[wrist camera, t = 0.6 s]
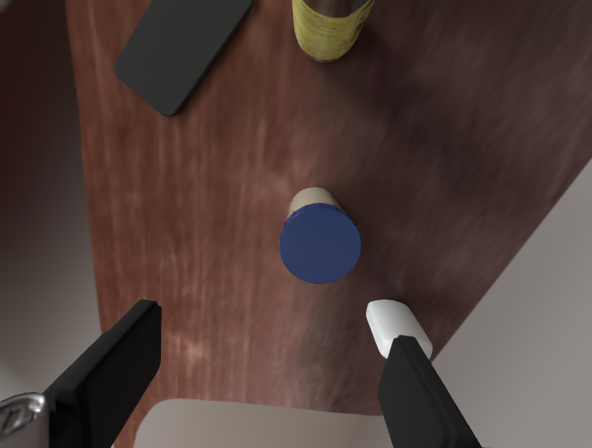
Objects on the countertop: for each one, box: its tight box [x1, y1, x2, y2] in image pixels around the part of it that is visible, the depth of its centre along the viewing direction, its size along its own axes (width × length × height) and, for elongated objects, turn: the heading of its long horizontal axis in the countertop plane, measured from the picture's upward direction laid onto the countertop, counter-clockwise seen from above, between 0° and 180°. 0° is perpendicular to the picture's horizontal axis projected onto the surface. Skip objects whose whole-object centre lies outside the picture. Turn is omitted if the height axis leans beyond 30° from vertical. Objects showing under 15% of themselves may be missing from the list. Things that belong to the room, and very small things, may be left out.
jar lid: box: [280, 202, 361, 284], centre depth 23 cm, size 7×7×2 cm
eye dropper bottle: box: [366, 300, 432, 359], centre depth 31 cm, size 4×6×12 cm
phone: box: [114, 0, 254, 117], centre depth 27 cm, size 7×1×15 cm
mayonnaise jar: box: [287, 188, 342, 219], centre depth 28 cm, size 6×6×11 cm
